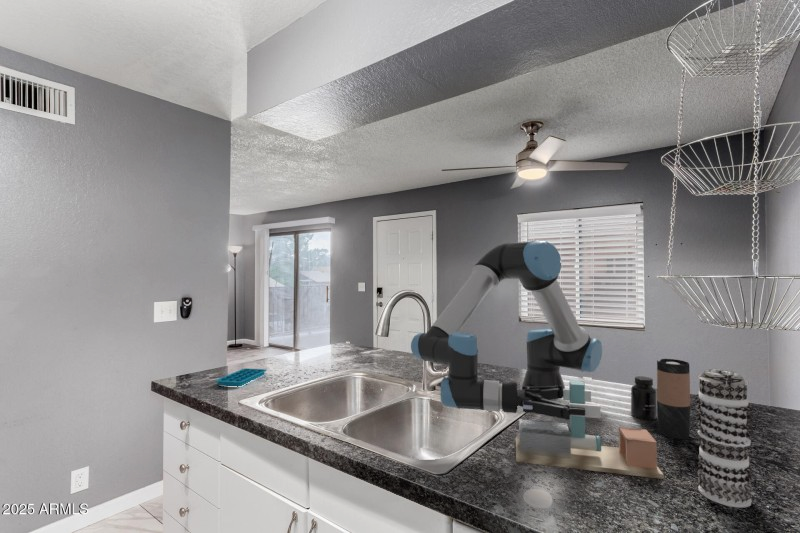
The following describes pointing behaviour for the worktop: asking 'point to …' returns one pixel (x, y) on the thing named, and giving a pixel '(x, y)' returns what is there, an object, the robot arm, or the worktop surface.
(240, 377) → the ice cube tray
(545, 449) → the sleeve
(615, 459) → the base board
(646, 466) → the socket
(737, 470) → the decorative candle
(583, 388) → the slip tube
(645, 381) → the supplement bottle
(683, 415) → the travel mug
